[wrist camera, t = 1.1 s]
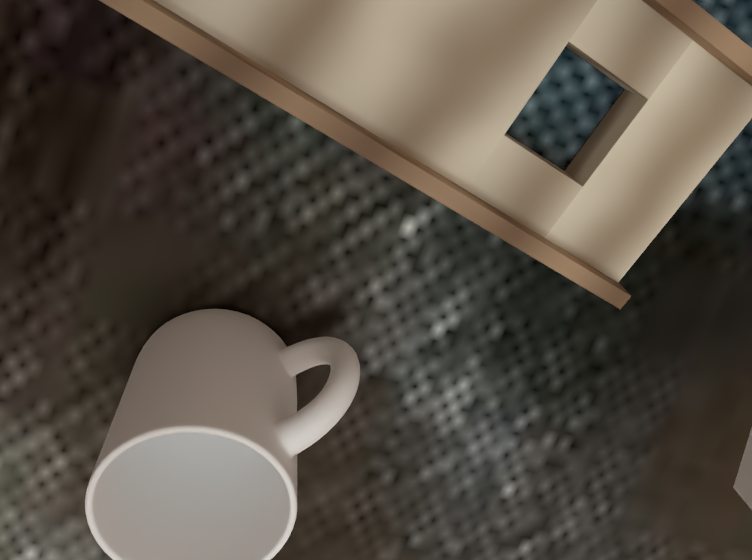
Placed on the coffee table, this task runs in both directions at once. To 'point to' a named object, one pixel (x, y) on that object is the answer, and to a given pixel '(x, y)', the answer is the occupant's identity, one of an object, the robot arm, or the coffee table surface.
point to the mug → (212, 440)
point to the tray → (494, 104)
